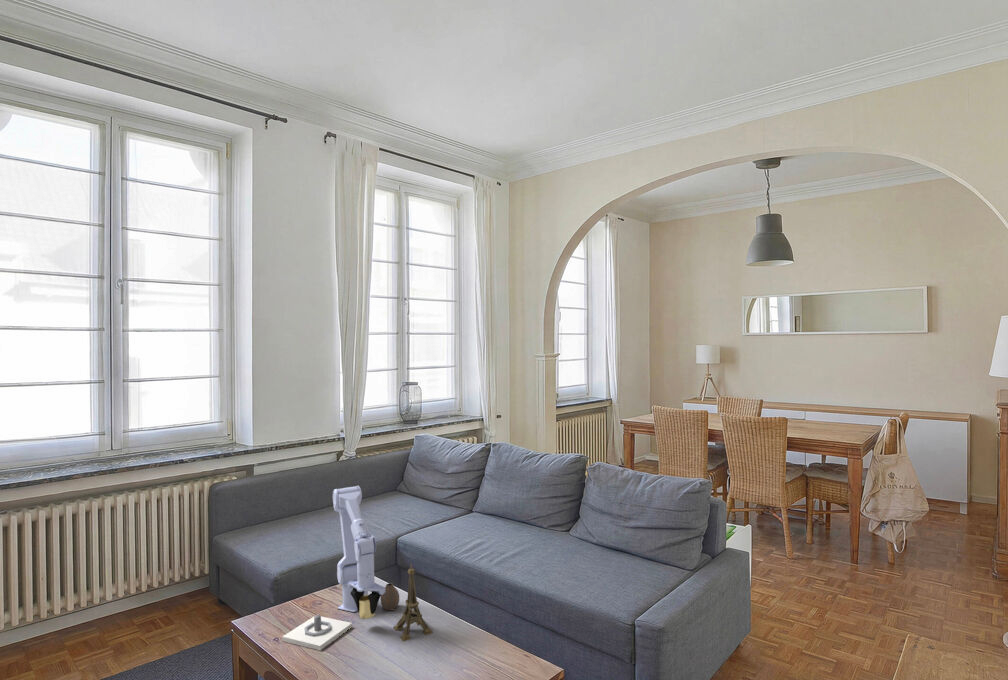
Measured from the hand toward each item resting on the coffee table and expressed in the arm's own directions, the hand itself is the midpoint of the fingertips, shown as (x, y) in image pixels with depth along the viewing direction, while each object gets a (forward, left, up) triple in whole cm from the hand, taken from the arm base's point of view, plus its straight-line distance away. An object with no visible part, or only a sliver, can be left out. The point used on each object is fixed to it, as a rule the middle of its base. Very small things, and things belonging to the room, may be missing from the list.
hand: (366, 611), depth 205 cm
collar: (0, 0, -1) cm, 1 cm away
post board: (+10, -13, -6) cm, 17 cm away
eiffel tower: (-4, +16, -6) cm, 18 cm away
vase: (-15, -1, -6) cm, 16 cm away
